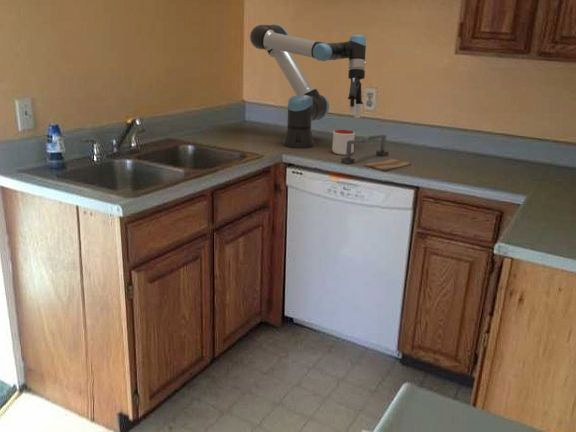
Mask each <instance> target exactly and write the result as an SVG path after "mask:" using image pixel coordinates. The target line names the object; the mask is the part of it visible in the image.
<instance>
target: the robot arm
mask: <svg viewBox="0 0 576 432" xmlns="http://www.w3.org/2000/svg"><path fill="white" fill-rule="evenodd" d="M249 39H250V44H251V45H252V46H253V47H254V48H256V49H259V50H265V51H266V52H267V53H268V55H269V57H272V58H274V60H275V61H276V63H277V64H278V66H279V68H280V70H281V71H282V72H283V74H284V76H285V78H286V79H287V81H288V83H289V85H290V86H291V88H292V90H293V92H294V94H295V95H293V96H291V97H290V98H289V99H288V104H287V126H286V132H285V136H284V137H283V141H282V144H283V146H285V147H288V148H295V149H306V148H307V149H308V148H312V147H313V146H314V145H315V140H314V138H313V137H314V136H313V132H312V122H313V121H318V120H321V119H323V118H325V117H326V116H327V115H328V113H329V109H330V102H329V100H328V98H327V97H326V96H324V95H323V94H320V93H319V91H318V89H317V88H314V87H312V85H311V83H310V82H309V80H308V79H307V77H306V75H305V74H304V72H303V70H302V68H301V66H300V64H298V62H297V60H296V58H295V56H294V55H293V54H295V55H300V56H302V57H309V58H313V59H316V60H317V61H320V62H325V61H326V62H327V61H336V60H344V59H348V76H347V77H348V79H349V80H350V87H349V93H348V97H347V99H348V100H349V107H348V108H349V109H348V110H349V112H348V114H349V115H354V119H357V118H358V119H360V118H361V115H362V114H361V113H362V112H361V111H362V105H363V104H364V103H363V101H362V99H363V98H362V95H363V94H362V82H361V80H364V79H365V75H366V74H365V73H366V71H365V70H366V69H365V68H366V65H367V62H366V52H367V51H366V50H367V39H366V36H364V35H362V34H353V35H350V37H349V40H347V41H343V42H322V41H317V40H312V39H307V38H303V37H297V36H293V35H292V36H291V35H288V31H287V30H286V28H284V27H283V26H281V25H279V24H258V25H256V26H254V28H252V30H251V32H250V34H249Z"/></svg>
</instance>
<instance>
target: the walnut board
mask: <svg viewBox="0 0 576 432" xmlns="http://www.w3.org/2000/svg"><path fill="white" fill-rule="evenodd" d="M411 165H412V163H411V162H406V161H402V160H398V159H395V158H387V159H382V160H381V159H380V160H376V161H373V162H369V163H365V164H364V167H366V166H367V168H371V169H375V170H377V171H378V170H379V171H381V172H389V171H393V170H397V169H401V168H402V169H403V168H405V167H408V166H409V167H410V166H411Z"/></svg>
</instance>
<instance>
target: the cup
mask: <svg viewBox="0 0 576 432" xmlns="http://www.w3.org/2000/svg"><path fill="white" fill-rule="evenodd" d="M332 133H333V134H332V144H331V145H332V147H331V148H332V152H333V153H334V154H337V155H341V156H346V150H347V141H350V140H355V139H356V138H355V134H356V133H355V131H353V130H347V129H335V130H333V131H332ZM354 146H355V144H351V154H353V153H354V149H355V148H354Z"/></svg>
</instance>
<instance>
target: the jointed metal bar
mask: <svg viewBox="0 0 576 432" xmlns="http://www.w3.org/2000/svg"><path fill="white" fill-rule="evenodd" d="M378 139H379V140H380V139H381V142H380V149H379V150H376V151H375V155H376V156H379V157H381V158H382V157H383V158H384V157H388V156H389V151H388V150H386V141H387V135H386V134H376V135H368V136H366V137H364V138H362V139H354V140H350V141H347V150H346V155H345V157H341V163H342V164H346V165H352V164H355V160H356V159H355V158H354V157H351V144H354V145H357V144H366V143H367V142H370V141H372V140H378Z"/></svg>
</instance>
